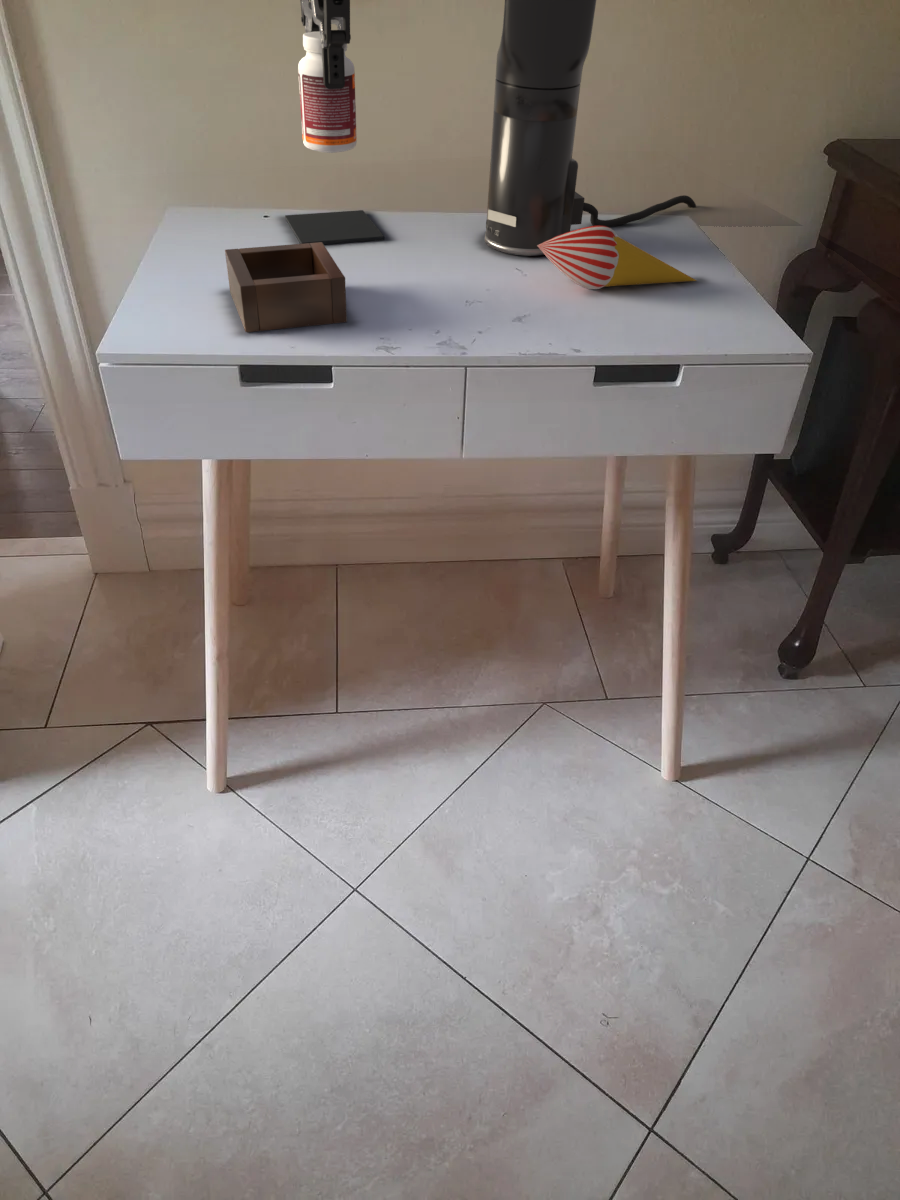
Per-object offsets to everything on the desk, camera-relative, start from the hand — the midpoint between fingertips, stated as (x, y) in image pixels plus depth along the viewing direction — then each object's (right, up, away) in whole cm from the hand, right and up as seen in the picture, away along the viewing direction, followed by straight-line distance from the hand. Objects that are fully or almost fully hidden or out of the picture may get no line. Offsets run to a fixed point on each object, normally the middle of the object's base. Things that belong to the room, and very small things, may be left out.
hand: (327, 81), depth 98 cm
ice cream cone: (+32, -23, 0) cm, 39 cm away
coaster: (-1, -12, +10) cm, 16 cm away
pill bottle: (0, -5, +4) cm, 7 cm away
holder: (-3, -28, -8) cm, 29 cm away
